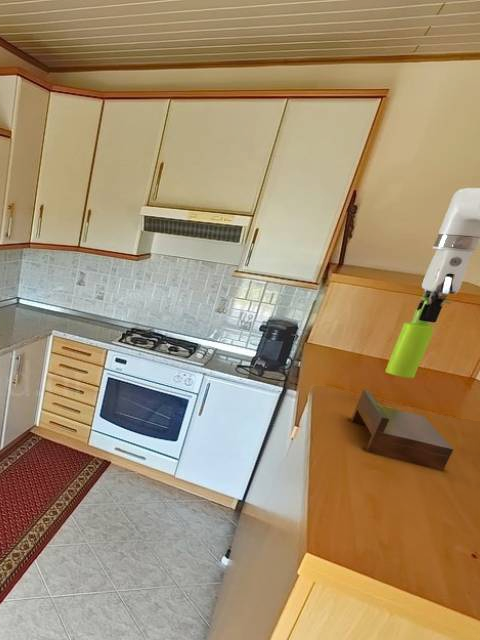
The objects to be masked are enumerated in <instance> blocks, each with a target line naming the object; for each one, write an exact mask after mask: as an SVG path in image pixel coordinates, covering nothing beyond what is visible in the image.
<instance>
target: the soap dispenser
mask: <svg viewBox="0 0 480 640" xmlns="http://www.w3.org/2000/svg"><path fill="white" fill-rule="evenodd" d="M428 299H429V298H428V297H422V296H421V298H420V301H421V300H424V303H423V302H422V303H423V306H422V308H421V309H419V310H417V309H415V311H414V315H413V317H412V319H411V322H407V321H406V322H404V323H403V325H402V327H401V329H400V332H399V335H398V337H397V340H396V343H395V345H394V347H393V350H392V352H391V355H390V358H389V360H388V362H387V365H386V368H385V370H384V371H385V373H386V374H389V375H392V376H397V377H400V378H401V377H402V378H407V379H414V378H415V376H416V374H417V371H418V369H419V366H420V364H421V362H422V359H423V357H424V354H425V353H426V350H427V347H428V345H429V343H430V341H431V338H432V335H433V333H434V332H435V331H434V330H435V327H434V326H432V325H430V324H431V322H427V321H420V320H419V317H420V315H421V312H422V310H423V307H424V305H425V304H427V302H428ZM444 304H447V305H450V304H452V302H451V301H449V300H446V299H445V301H444Z"/></svg>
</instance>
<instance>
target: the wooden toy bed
mask: <svg viewBox="0 0 480 640" xmlns="http://www.w3.org/2000/svg"><path fill="white" fill-rule="evenodd" d="M350 421H351V423H354V424H359V425H362V426H366V428H367V429H368V431H369V433H370V435H371V436H370V438H369V440H368V442H367V444H366V447H365V451H366V453H369V454H374V455H378V456H382V457H386V458H390V459H394V460H398V461H402V462H404V463H405V462H406V463H410V464H413V465H418V466H422V467H426V468H430V469H433V470H437V471H441V472H443V471H444V470H445V468H446V466H447V464H448V463H449V460H450V457H451V456H452V454H453V452H454V450H455V449H454V448H453V446H451V445H450V443H448V441H447V440H446V439H445V438H444V437H443V436H442V435H441V434H440V433H439V432H438V430H437V429H436V428H435V427H434V425H432V424H431V423H430V422H429V420H428V419H427V418H426V417H425V416H424V415H421V414H416V413H413V412H407V411H403V410H399V409H395V408H389V407H385V406H381V404H379V402H378V401H377V399H376V398H375V397H374V395H373V394H372V392H371V391H370V390H366V389H363V390H362V392H361V394H360V397H359V399H358V402H357V404H356V406H355V408H354V411H353V414H352V416H351V419H350Z"/></svg>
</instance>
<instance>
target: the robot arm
mask: <svg viewBox="0 0 480 640" xmlns="http://www.w3.org/2000/svg"><path fill="white" fill-rule="evenodd" d="M437 233H438V234H437V236H436V238H435V240H434V243H433V246H432V247H431V248H432V250H436V251H435V253H434V255H433V257H432V259H431V261H430V263H429V266H428V268H427V270H426V272H425V275H424V278H423V281H422V283H421V288H422V289H423V290H424V292H423V294H422V296H421V298H422V297H428V298H429V299H428V302H427V304H425V305H424V307H423V310H422V312H421V315H420V317H419V320H420V321H427V322H430V323H436V322H437V321H438V318H439V316H440V313H441V310H442V308H443V306H444V304H445V303H444V301H445V300H446V299H447V297H448V296H449V295H456V294H458V293H459V291H460V289H461V287H462V284H463V281H464V278H465V275H466V272H467V270H468V266H469V263H470V260H471V257H472V253H476V250H477V248H478V245H479V243H480V187H465V188H460V189H458V190H457V191H455V193H454V194H453V196H452V198H451V200H450V203H449V205H448V207H447V211H446V212H445V216H444V218H443V220H442V223H441V226H440V228H439V231H438V232H437ZM423 303H424V300H421V299H420V301H419V303H418V306H417V308H416V310H419V309H421V308H422V306H423Z"/></svg>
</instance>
